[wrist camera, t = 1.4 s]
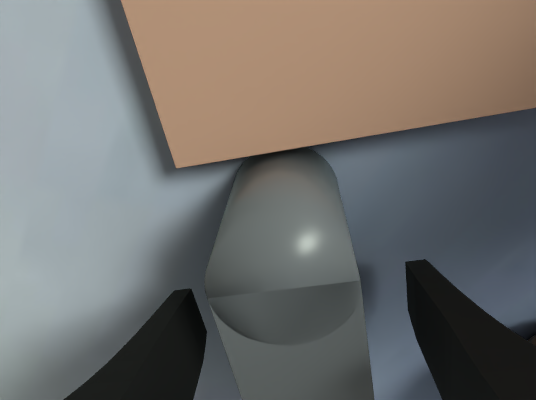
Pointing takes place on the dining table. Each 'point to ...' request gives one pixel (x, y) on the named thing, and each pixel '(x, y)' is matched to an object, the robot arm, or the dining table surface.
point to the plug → (289, 283)
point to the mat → (327, 68)
